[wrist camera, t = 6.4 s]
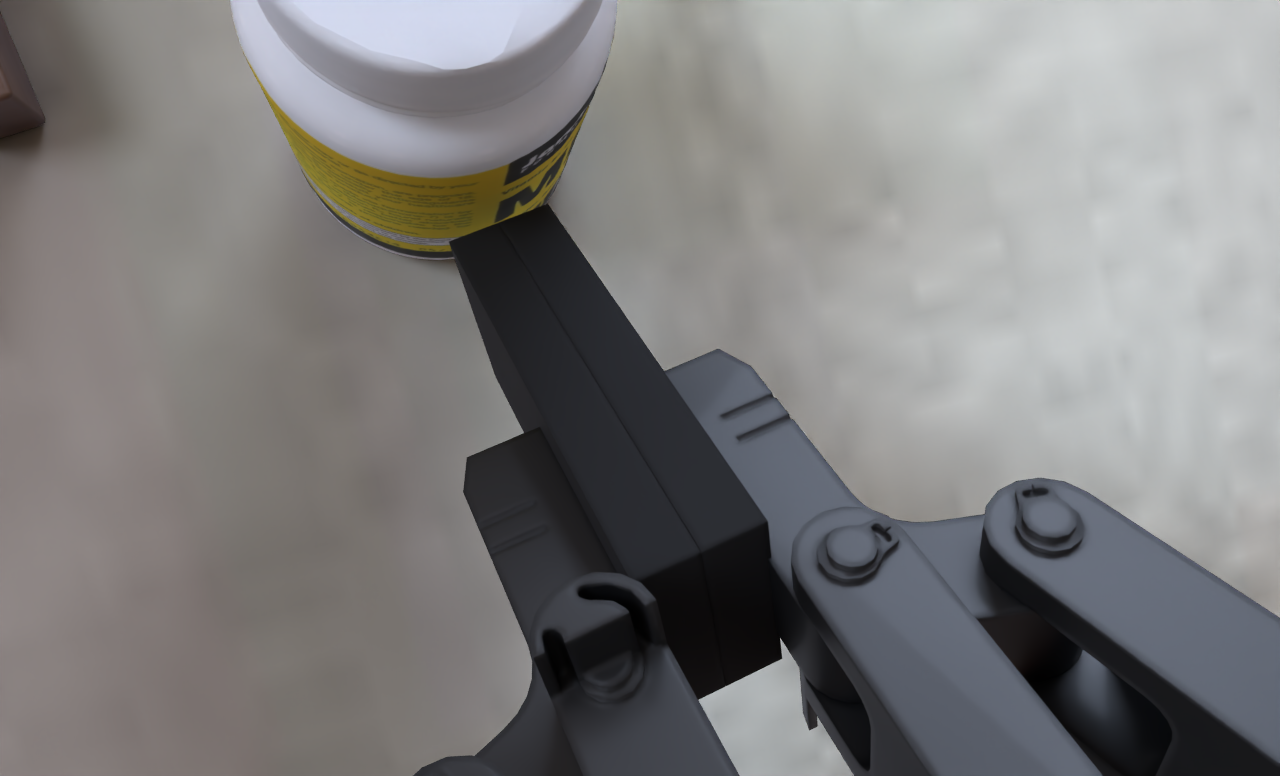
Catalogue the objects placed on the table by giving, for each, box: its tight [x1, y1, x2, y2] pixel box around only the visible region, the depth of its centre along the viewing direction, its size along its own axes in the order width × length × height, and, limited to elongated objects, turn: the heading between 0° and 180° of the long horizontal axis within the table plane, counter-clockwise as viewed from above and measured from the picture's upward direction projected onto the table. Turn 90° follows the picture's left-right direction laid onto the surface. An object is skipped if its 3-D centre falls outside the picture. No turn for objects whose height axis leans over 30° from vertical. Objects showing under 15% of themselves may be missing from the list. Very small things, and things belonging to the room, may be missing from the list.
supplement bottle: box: [230, 0, 617, 260], centre depth 15 cm, size 5×5×8 cm
